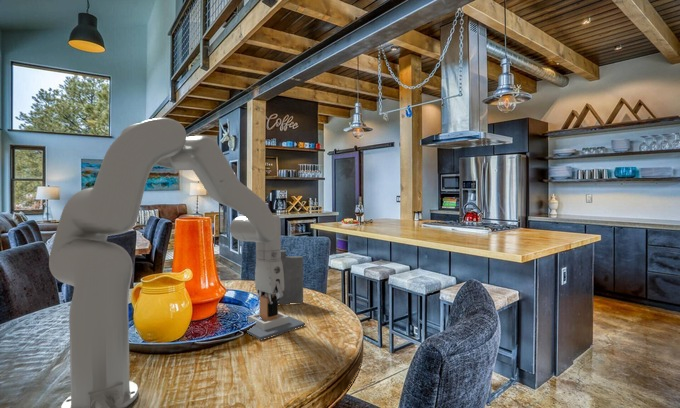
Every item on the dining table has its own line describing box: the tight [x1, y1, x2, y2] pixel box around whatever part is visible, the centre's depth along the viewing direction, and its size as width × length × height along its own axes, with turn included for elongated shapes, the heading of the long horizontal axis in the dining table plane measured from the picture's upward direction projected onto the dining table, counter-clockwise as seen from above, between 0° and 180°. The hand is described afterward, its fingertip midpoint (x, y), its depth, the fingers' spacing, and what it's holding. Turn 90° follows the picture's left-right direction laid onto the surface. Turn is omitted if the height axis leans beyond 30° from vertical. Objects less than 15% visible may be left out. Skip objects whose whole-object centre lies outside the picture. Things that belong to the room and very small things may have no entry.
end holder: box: [246, 311, 306, 341], centre depth 110 cm, size 16×16×3 cm
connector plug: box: [259, 293, 278, 322], centre depth 110 cm, size 4×4×8 cm
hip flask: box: [274, 249, 304, 304], centre depth 132 cm, size 16×4×20 cm, turn 92°
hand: (268, 313), depth 110 cm, fingers closed on connector plug, 4 cm apart
